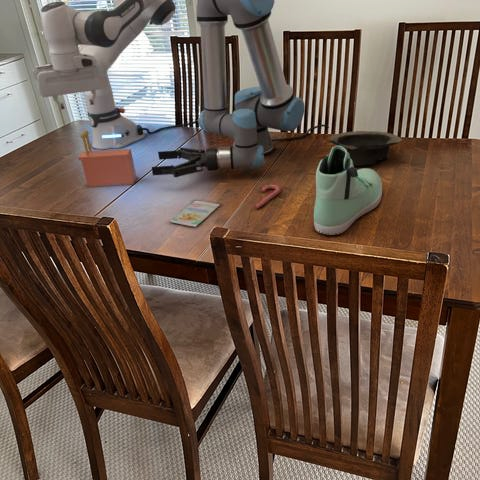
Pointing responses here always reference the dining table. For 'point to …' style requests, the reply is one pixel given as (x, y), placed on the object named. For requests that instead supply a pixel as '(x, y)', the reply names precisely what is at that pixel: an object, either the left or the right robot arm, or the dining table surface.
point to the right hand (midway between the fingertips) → (155, 163)
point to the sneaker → (343, 192)
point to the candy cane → (262, 202)
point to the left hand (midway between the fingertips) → (77, 106)
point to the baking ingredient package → (194, 213)
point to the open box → (109, 171)
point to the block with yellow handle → (100, 154)
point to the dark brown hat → (366, 145)
